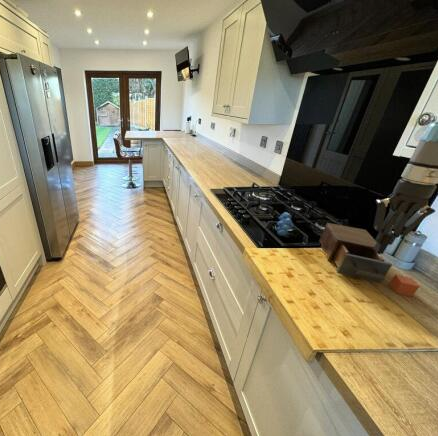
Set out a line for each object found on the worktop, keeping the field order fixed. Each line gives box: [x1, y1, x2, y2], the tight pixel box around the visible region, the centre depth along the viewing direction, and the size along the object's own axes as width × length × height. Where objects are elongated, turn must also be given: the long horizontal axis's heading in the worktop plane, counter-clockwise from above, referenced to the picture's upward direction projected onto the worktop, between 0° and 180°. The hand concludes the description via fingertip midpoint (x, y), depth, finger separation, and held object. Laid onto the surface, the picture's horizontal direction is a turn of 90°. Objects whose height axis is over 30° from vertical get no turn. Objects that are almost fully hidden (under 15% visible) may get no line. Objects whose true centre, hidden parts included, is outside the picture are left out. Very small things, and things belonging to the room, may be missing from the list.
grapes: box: [275, 211, 295, 237], centre depth 107 cm, size 12×7×12 cm, turn 165°
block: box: [388, 274, 421, 298], centre depth 78 cm, size 4×4×4 cm
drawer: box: [332, 242, 393, 284], centre depth 85 cm, size 20×13×8 cm, turn 158°
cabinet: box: [318, 222, 377, 263], centre depth 95 cm, size 16×14×10 cm
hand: (377, 251), depth 76 cm, fingers closed
